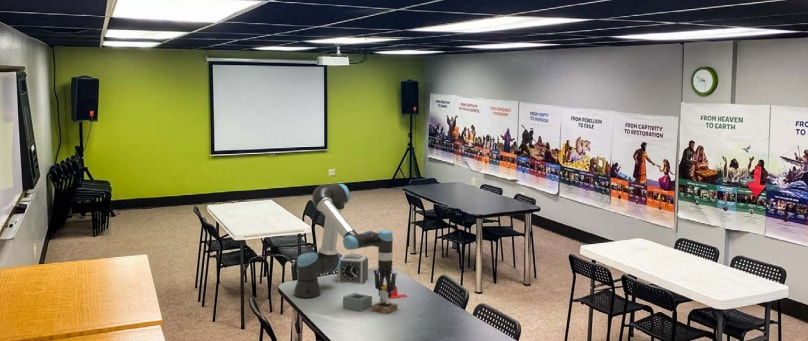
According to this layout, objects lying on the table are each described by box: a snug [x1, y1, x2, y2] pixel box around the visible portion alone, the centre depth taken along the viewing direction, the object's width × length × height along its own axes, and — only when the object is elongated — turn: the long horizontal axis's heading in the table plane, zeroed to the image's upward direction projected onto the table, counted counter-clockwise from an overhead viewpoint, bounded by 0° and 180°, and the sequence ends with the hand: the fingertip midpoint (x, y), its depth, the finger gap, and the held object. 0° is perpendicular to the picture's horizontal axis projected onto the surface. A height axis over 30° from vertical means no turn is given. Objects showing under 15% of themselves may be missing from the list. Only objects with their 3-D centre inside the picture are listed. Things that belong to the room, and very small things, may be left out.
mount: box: [371, 301, 399, 315], centre depth 339 cm, size 10×10×3 cm
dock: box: [342, 292, 373, 312], centre depth 343 cm, size 12×10×6 cm
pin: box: [381, 284, 389, 307], centre depth 338 cm, size 5×5×13 cm
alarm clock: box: [337, 253, 369, 285], centre depth 391 cm, size 18×13×18 cm
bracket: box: [390, 285, 408, 300], centre depth 363 cm, size 12×4×8 cm, turn 110°
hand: (384, 302), depth 338 cm, fingers closed on pin, 3 cm apart
